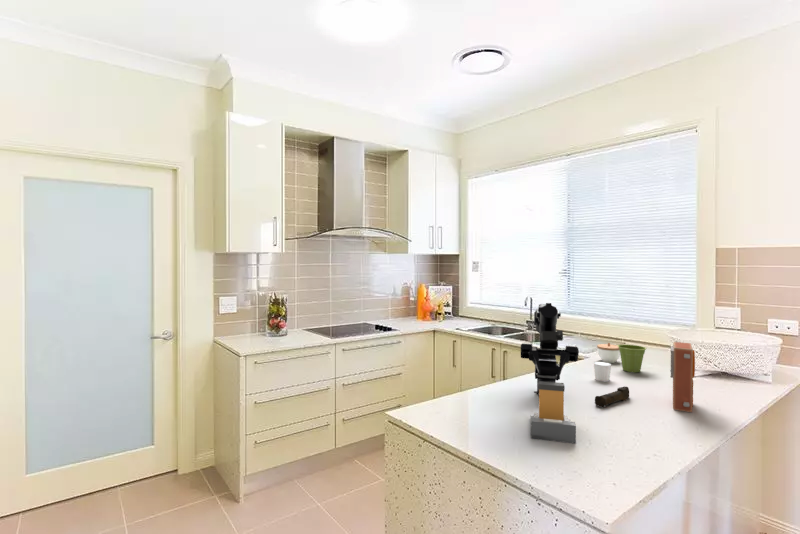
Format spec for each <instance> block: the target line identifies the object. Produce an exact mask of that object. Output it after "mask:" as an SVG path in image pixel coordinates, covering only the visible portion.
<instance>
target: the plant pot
mask: <svg viewBox="0 0 800 534" xmlns="http://www.w3.org/2000/svg"><path fill="white" fill-rule="evenodd" d="M617 346H618V347H619V351H620V361H621V368H622V370H623V371H624V372H625V371H626V372H628V373H641V370H642V364H643V360H644V355H645V352H646V351H647V347H645V346H640V345H638V344H637V345H634V344H618V345H617Z"/></svg>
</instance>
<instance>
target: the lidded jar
mask: <svg viewBox="0 0 800 534" xmlns="http://www.w3.org/2000/svg"><path fill="white" fill-rule="evenodd" d="M596 345H597V356H598V357H599V359H600V360H601V362H606V363H610V364H613V363H614V364H615V363H616V362H617V361H618V360H619V359H620V358H621V355H620V351H619V347H618V345H617V344H611V343H610V342H607V343H602V344H601V343H600V344H596Z"/></svg>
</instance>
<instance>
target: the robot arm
mask: <svg viewBox="0 0 800 534" xmlns="http://www.w3.org/2000/svg"><path fill="white" fill-rule="evenodd" d="M561 314H562V313H561V312H560V311H559V309H557V306H556V305H555V306H554V305H553V304H552V303H550V302H546V303H540V304H538V307H537V308H536V310H535V311H534V313H533V316H534V317H533V324H534V326H535V330H536V332H537V333H539V347H538V346H533V343H525V342H524V343H521V344H520V358H521V359H528V361H531V362H532V363H533V364H534V380H536V384H537V385H536V387H537V388H536V390H535V391H533V393H534V394H535V395H538V396H539V387H538V381H543V382H556V381H559V380H560V379H561V373H562V371H563V368H564V366H565V365H566V364H567V363H568V364H569V363H570V362H578V359H579V353H580V352H579V351H580V350H579V347H578V346H577V345H565V348H564V349H558V347H559V342H560V341H561V342H562V341H563V340H564V332H563V330H559V329H558V330H557V322H558V320H559V319H560V317H561V316H562V315H561ZM556 356H560V357H559V363H557V358H556Z"/></svg>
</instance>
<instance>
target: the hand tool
mask: <svg viewBox="0 0 800 534" xmlns="http://www.w3.org/2000/svg"><path fill="white" fill-rule="evenodd" d="M629 398H630V389H629V387H628V386H621V387H617V389H616V390H615V391H613V392H609V393H607V394H606V393H605V394H601V395H595V397H594V404H595V405H596V407H599V408H605V407H607V406H608V405H611V404H613V403H617V402H619V401H623V402H624V401H627V400H628V399H629Z"/></svg>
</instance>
